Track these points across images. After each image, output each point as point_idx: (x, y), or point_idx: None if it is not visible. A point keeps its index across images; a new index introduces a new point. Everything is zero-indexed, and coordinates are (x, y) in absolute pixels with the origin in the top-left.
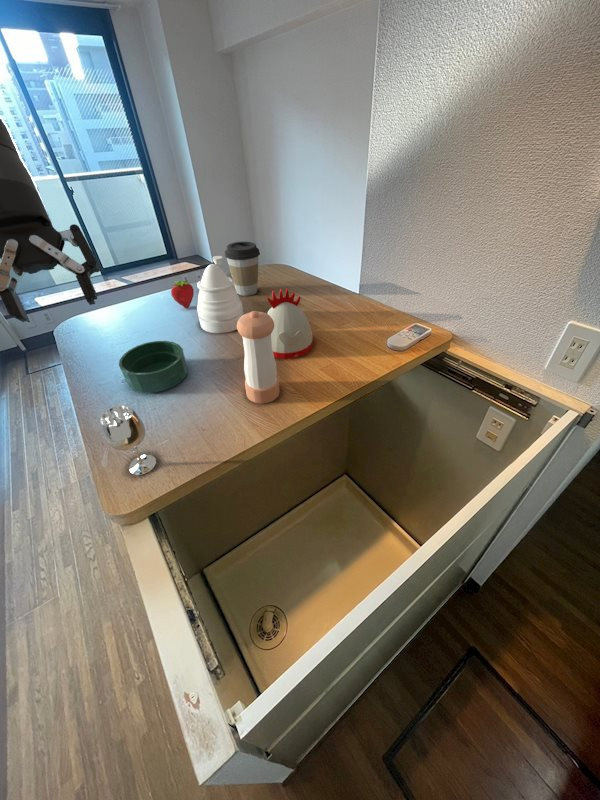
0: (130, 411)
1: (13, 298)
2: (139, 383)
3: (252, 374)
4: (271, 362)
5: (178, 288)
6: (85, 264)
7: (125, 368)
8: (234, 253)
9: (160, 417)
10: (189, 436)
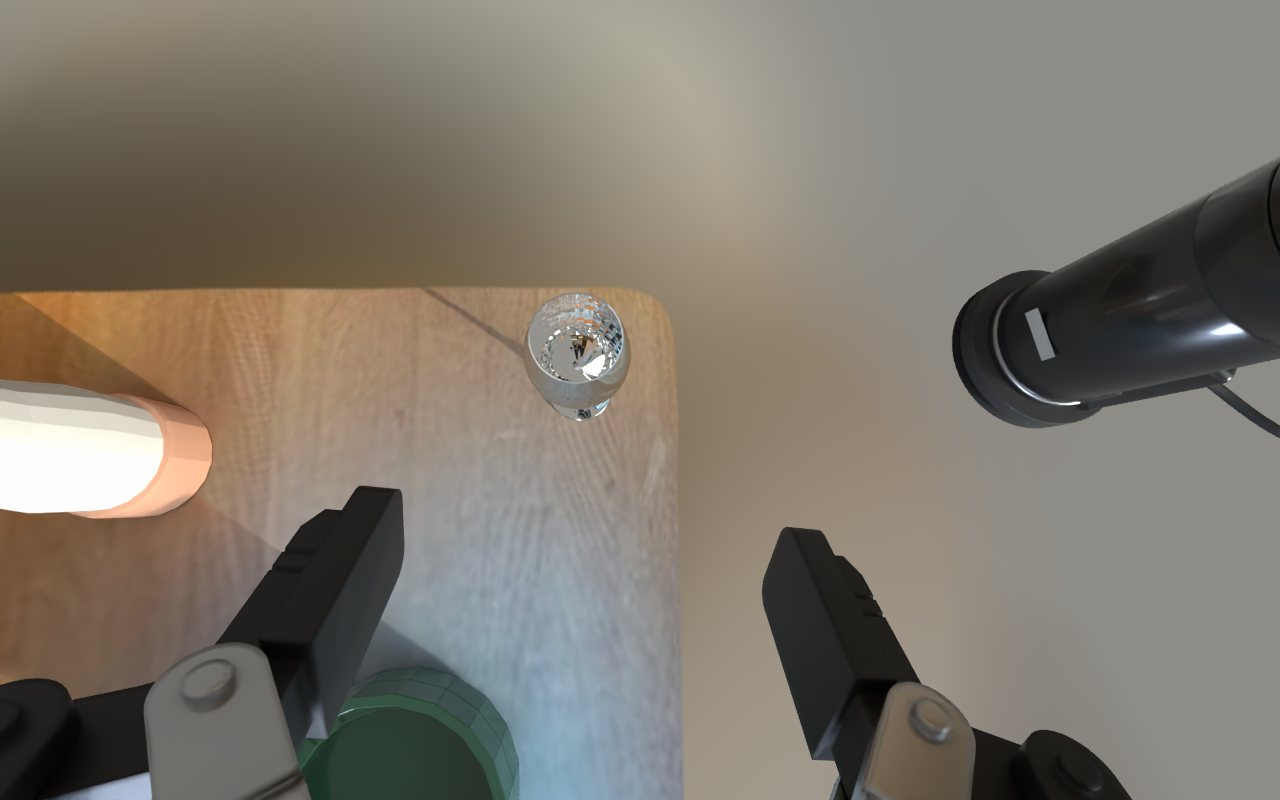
0: (538, 378)
1: (832, 615)
2: (478, 711)
3: (105, 411)
4: None
5: None
6: (99, 760)
7: None
8: None
9: (483, 541)
10: (444, 413)
